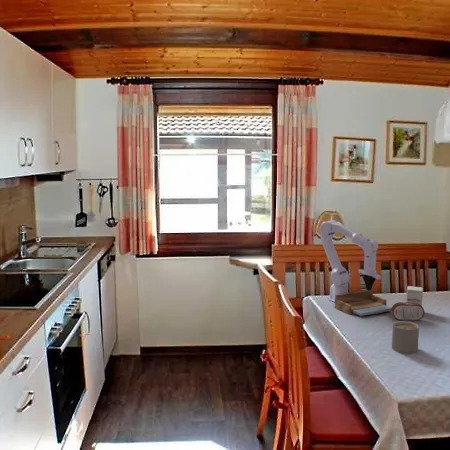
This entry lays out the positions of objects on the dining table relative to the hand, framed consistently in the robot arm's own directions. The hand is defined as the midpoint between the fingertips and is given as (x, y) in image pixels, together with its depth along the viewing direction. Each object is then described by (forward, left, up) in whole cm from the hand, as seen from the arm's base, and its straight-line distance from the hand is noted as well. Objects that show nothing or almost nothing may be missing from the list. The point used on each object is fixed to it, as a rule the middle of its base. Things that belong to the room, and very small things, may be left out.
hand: (368, 290), depth 256 cm
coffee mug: (+48, -23, -10) cm, 54 cm away
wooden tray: (-1, -4, -9) cm, 10 cm away
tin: (+23, +4, -10) cm, 25 cm away
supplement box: (+16, +15, -10) cm, 24 cm away
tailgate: (+5, -4, -7) cm, 10 cm away
